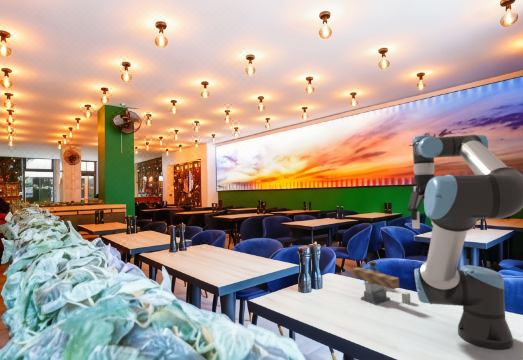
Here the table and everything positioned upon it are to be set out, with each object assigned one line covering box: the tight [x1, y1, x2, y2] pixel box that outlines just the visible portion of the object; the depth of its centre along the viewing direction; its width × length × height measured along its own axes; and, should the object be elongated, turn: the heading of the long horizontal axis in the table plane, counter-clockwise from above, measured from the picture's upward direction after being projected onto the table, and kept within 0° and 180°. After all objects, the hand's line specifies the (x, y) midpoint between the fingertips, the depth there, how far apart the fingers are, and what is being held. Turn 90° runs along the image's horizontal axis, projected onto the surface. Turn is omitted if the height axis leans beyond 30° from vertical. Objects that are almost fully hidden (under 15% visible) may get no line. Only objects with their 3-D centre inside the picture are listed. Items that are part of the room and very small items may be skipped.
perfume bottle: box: [364, 261, 382, 283], centre depth 163 cm, size 6×6×12 cm
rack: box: [364, 281, 411, 305], centre depth 148 cm, size 22×3×4 cm, turn 32°
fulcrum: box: [360, 282, 391, 306], centre depth 144 cm, size 8×10×8 cm
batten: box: [352, 266, 400, 290], centre depth 144 cm, size 22×4×4 cm, turn 32°
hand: (425, 226), depth 129 cm, fingers open, 13 cm apart
